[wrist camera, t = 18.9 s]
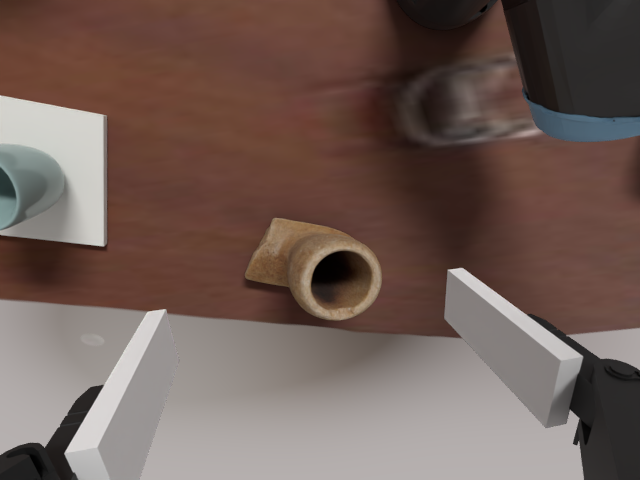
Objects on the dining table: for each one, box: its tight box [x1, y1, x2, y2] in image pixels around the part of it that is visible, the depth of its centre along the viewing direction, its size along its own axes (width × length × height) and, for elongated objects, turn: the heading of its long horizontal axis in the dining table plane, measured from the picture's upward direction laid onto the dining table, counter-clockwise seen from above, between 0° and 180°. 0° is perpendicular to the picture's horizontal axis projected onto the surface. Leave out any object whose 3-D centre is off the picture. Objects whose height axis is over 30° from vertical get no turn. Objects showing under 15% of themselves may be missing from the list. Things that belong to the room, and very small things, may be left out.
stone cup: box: [245, 218, 382, 320], centre depth 42 cm, size 15×12×15 cm
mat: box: [0, 95, 107, 246], centre depth 39 cm, size 16×14×1 cm
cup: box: [0, 143, 65, 230], centre depth 34 cm, size 8×8×10 cm
